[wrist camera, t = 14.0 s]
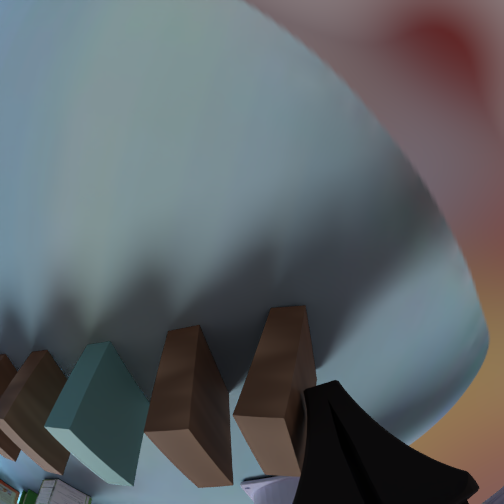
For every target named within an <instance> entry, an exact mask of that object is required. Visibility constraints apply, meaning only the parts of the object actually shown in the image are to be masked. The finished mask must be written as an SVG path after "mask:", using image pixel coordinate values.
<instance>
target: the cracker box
mask: <svg viewBox="0 0 504 504" xmlns="http://www.w3.org/2000/svg"><path fill="white" fill-rule="evenodd" d="M19 494H20V493H19V492H18V491H17V490H15V489H14V488H12V487H11V486H9V485H8V484H6V483H5V482H3V481H2V480H0V504H17V500H18V497H19Z"/></svg>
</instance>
